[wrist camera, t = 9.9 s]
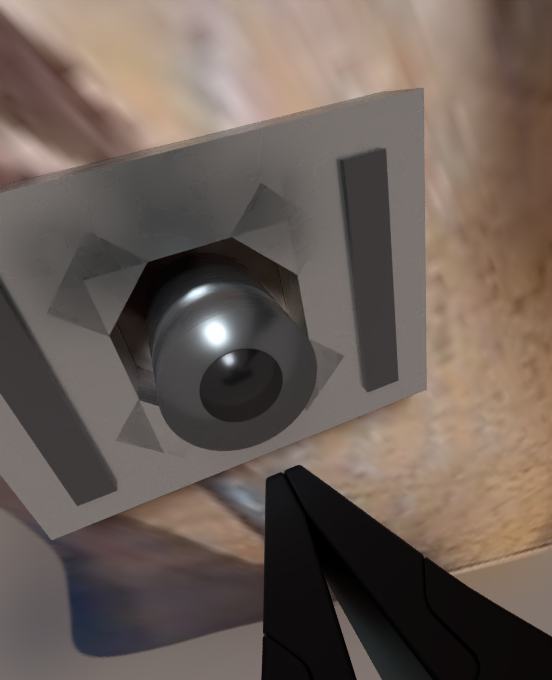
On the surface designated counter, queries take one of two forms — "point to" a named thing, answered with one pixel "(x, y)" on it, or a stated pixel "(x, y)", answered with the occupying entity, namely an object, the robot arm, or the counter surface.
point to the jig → (184, 234)
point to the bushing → (225, 355)
